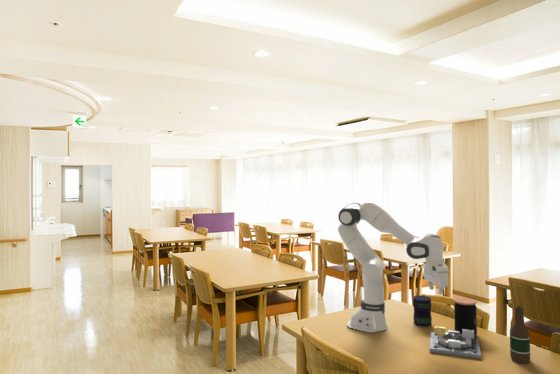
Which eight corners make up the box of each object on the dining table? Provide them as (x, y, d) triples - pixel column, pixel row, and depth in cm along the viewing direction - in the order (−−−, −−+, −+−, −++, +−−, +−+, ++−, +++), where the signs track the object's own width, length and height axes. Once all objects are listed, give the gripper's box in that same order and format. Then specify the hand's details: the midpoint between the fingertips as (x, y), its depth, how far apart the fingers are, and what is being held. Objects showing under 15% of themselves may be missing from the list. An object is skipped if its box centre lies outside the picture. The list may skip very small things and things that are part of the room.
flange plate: (429, 352, 185) (429, 340, 185) (431, 335, 205) (430, 324, 205) (481, 359, 176) (481, 346, 176) (477, 341, 197) (477, 329, 197)
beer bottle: (506, 356, 178) (505, 304, 178) (522, 355, 179) (521, 304, 179) (518, 364, 170) (516, 310, 170) (534, 363, 171) (533, 309, 171)
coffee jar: (479, 338, 200) (478, 303, 200) (457, 337, 202) (456, 303, 202) (473, 331, 210) (472, 298, 210) (452, 330, 212) (451, 297, 212)
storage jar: (432, 327, 216) (431, 301, 216) (413, 326, 220) (413, 299, 220) (431, 321, 226) (430, 296, 226) (413, 320, 229) (412, 295, 229)
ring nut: (434, 345, 187) (434, 331, 187) (435, 334, 201) (435, 321, 201) (475, 350, 180) (474, 336, 180) (473, 338, 194) (472, 325, 194)
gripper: (420, 262, 213) (421, 287, 213) (438, 269, 192) (439, 297, 192) (431, 261, 213) (432, 286, 213) (450, 268, 193) (451, 296, 193)
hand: (435, 291), depth 203 cm, fingers open, 8 cm apart
